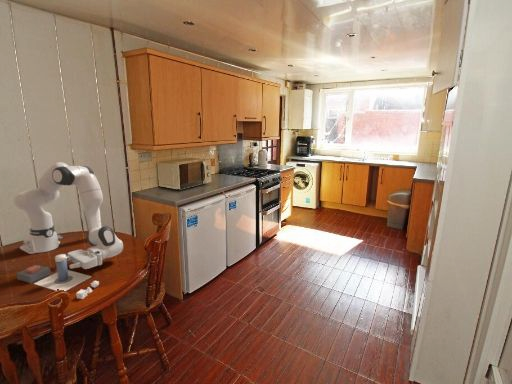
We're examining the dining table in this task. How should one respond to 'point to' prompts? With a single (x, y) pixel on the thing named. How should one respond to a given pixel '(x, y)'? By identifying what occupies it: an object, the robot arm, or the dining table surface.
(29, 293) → the dining table surface
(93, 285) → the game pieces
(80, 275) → the paper sheet
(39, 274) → the button housing
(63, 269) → the blue and white cylinder
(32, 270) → the button
